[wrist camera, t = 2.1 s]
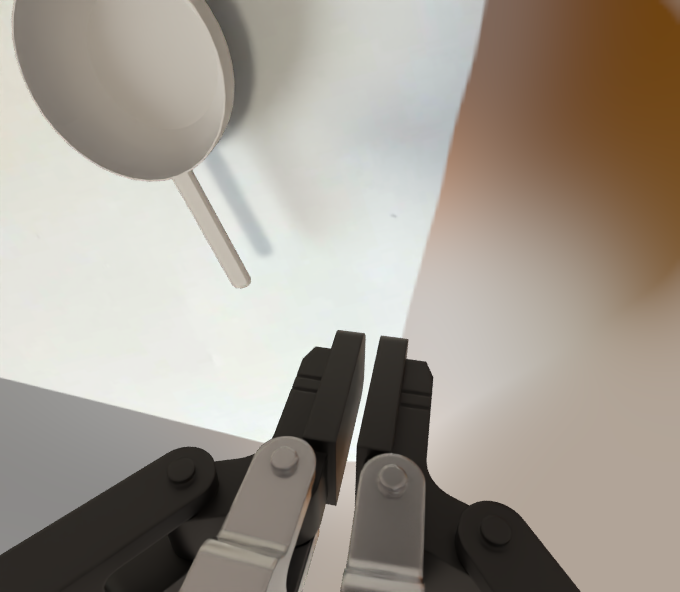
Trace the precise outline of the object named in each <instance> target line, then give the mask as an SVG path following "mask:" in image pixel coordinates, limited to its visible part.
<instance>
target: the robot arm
mask: <svg viewBox="0 0 680 592" xmlns="http://www.w3.org/2000/svg"><path fill="white" fill-rule="evenodd" d="M407 347H408V339H403V338H396V337H388V336H381V337H380V341H379V345H378V350H377V355H376V359H375V364H374V369H373V373H372V378H371V382H370V387H369V392H368V396H367V401H366V406H365V410H364V415H363V419H362V424H361V429H360V433H359V438H358V443H357V454H356V488H355V489H356V491H355V511H354V518H353V525H352V532H351V538H350V545H349V552H348V559H347V564H346V568H345V569H344V573H343V579H342V584H341V590H340V592H580V590H579V589H578V588H577V587H576V585H575V584H574V583H573V582H572V580H571V579H570V578H569V576H568V575H567V574H566V573H565V571H564V570H563V569H562V568H561V567H560V565H559V564H558V563H557V561H556V560H555V559H554V558H553V557H552V555H551V554H550V552H549V551H548V550H547V549H546V548H545V546H544V545H543V544H542V542H541V541H540V540H539V539H538V537H537V536H536V535H535V534H534V532H533V531H532V530H531V528H530V527H529V526H528V525H527V523H526V522H525V521H524V520H523V519H522V517H521V516H520V515H519V514H518V513H516V512H515V511H514V510H513V509H511V508H509V507H508V506H506V505H504V504H501V503H498V502H493V501H480V502H476V503H474V504H472V505H470V506H469V505H467V504H465V503H463V502H461V501H459V500H457V499H455V498H453V497H452V496H450V495H448V494H446V493H445V492H444V491H442V490H441V489H440V488H439V487H438V486H437V485H436V484H435V482H434V481H433V480H432V478H431V476H430V474H429V472H428V469H427V462H426V458H427V447H428V435H429V423H430V409H431V399H432V398H431V397H432V386H433V376H432V374H431V371H430V369H429V367H428V365H427V363H426V362H424V361H417V360H409V359H406V358H407V349H408V348H407ZM364 364H365V333H357V332H350V331H342V330H338V331H337V332H336V335H335V338H334V341H333V344H332V347H331V349H330V348H322V347H315V348H314V349H313V350H312V351H310V352H309V353H308V354H307V355H306V356H305V357H304V358H303V360H302V362H301V365H300V368H299V370H298V373H297V377H296V378H295V381H294V383H293V386H292V389H291V391H290V394H289V397H288V399H287V402H286V404H285V407H284V410H283V412H282V415H281V418H280V420H279V423H278V425H277V428H276V431H275V433H274V435H273V438H272V439H271V440H269V441H267V442H266V443H264V444H263V445H262V446H261V447H260V448H259V449H258V450H257V452H256V453H255V454H253V455H251V456H248V457H245V458H239V459H231V460H223V461H216V462H214V460H213V458H212V456H211V455H210V454H209V453H208V452H206V451H205V450H203V449H200V448H197V447H182V448H178V449H175V450H173V451H171V452H169V453H167V454H165V455H164V456H162V457H160V458H159V459H157V460H156V461H154V462H152V463H150V464H149V465H147V466H146V467H144V468H142V469H141V470H139V471H137V472H136V473H134V474H132V475H131V476H129V477H128V478H126V479H125V480H123V481H121V482H119V483H118V484H116V485H114V486H113V487H111V488H110V489H108V490H106V491H105V492H103V493H101V494H100V495H98V496H96V497H95V498H93V499H91V500H90V501H88V502H87V503H85V504H83V505H82V506H80V507H78V508H77V509H75V510H73V511H72V512H70V513H69V514H67V515H65V516H64V517H62V518H60V519H59V520H57V521H55V522H54V523H52V524H51V525H49V526H47V527H46V528H44V529H43V530H41V531H39V532H37V533H36V534H34V535H32V536H31V537H29V538H28V539H26V540H24V541H23V542H21V543H19V544H18V545H16V546H14V547H13V548H11V549H10V550H8V551H6V552H5V553H3V554H1V555H0V592H302V591H303V587H304V584H305V580H306V577H307V574H308V570H309V567H310V563H311V560H312V557H313V553H314V550H315V546H316V543H317V540H318V536H319V527H320V524H321V521H322V516H323V512H324V509H325V504H330V505H335V506H336V504H337V500H338V496H339V492H340V487H341V483H342V479H343V474H344V470H345V466H346V461H347V457H348V452H349V448H350V444H351V439H352V435H353V431H354V426H355V422H356V417H357V413H358V409H359V404H360V400H361V395H362V389H363V382H364Z"/></svg>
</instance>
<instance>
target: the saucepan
mask: <svg viewBox="0 0 680 592" xmlns="http://www.w3.org/2000/svg"><path fill="white" fill-rule="evenodd" d="M12 39H13V44H14V50H15V55H16V59H17V62H18V66H19V69H20V72H21V75H22V78H23V80H24V82H25V84H26V86H27V89H28V91H29V93H30V95H31V97H32V99H33V100H34V102H35V104H36V105H37V107H38V108H39V110H40V112H41V113H42V115H43V116H44V117H45V119H46V120H47V121H48V123H49V124H50V125H51V126H52V128H53V129H54V130H55V131H56V132H57V133H58V134H59V135H60V136H61V137H62V139H63V140H64V141H65V142H66V143H67V144H68V145H69V146H71V147H72V148H73V149H74V150H76V151H77V152H78V153H79V154H81V155H82V156H83V157H84V158H86V159H87V160H89V161H91V162H92V163H94V164H96V165H97V166H99V167H100V168H102V169H105V170H107V171H109V172H111V173H114V174H116V175H119V176H122V177H126V178H129V179H133V180H140V181H149V182H151V181H165V180H169V179H172V180H173V182H174V183H175V185H176V187H177V189H178V190H179V192H180V194H181V196H182V198H183V199H184V201H185V203H186V205H187V206H188V208H189V210H190V212H191V213H192V215H193V217H194V219H195V220H196V222H197V224H198V226H199V228H200V229H201V231H202V233H203V235H204V236H205V238H206V240H207V242H208V243H209V245H210V247H211V249H212V251H213V252H214V254H215V256H216V258H217V259H218V261H219V263H220V265H221V266H222V268H223V270H224V272H225V274H226V275H227V277H228V279H229V281H230V282H231V284H232V285H233V286H234V287H235V288H240V289H241V288H245V287H247V286H248V285H249V284H250V283H251V278H250V276H249V274H248V272H247V270H246V268H245V267H244V265H243V263H242V261H241V259H240V257H239V255H238V254H237V252H236V250H235V248H234V246H233V244H232V243H231V241H230V239H229V237H228V235H227V233H226V232H225V230H224V228H223V226H222V224H221V222H220V221H219V219H218V217H217V215H216V213H215V211H214V209H213V208H212V206H211V204H210V202H209V200H208V198H207V197H206V195H205V193H204V191H203V189H202V187H201V186H200V184H199V182H198V180H197V178H196V176H195V174H194V173H193V171H192V170H193V169H194V168H195V167H196V166H198V165H199V164H200V163H201V162H202V161H203V160H205V158H206V157H207V156H208V155H209V154H210V152H211V151H212V150H213V148H214V147H215V146H216V144H217V143H218V142H219V140H220V138H221V137H222V135H223V133H224V131H225V129H226V127H227V125H228V122H229V120H230V116H231V112H232V108H233V104H234V89H235V83H234V72H233V64H232V60H231V56H230V52H229V48H228V45H227V42H226V40H225V37H224V35H223V32H222V30H221V27H220V25H219V23H218V22H217V20H216V18H215V16H214V15H213V13H212V11H211V9H210V8H209V6H208V4H207V3H206V2H205V1H204V0H14V3H13V10H12Z"/></svg>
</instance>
